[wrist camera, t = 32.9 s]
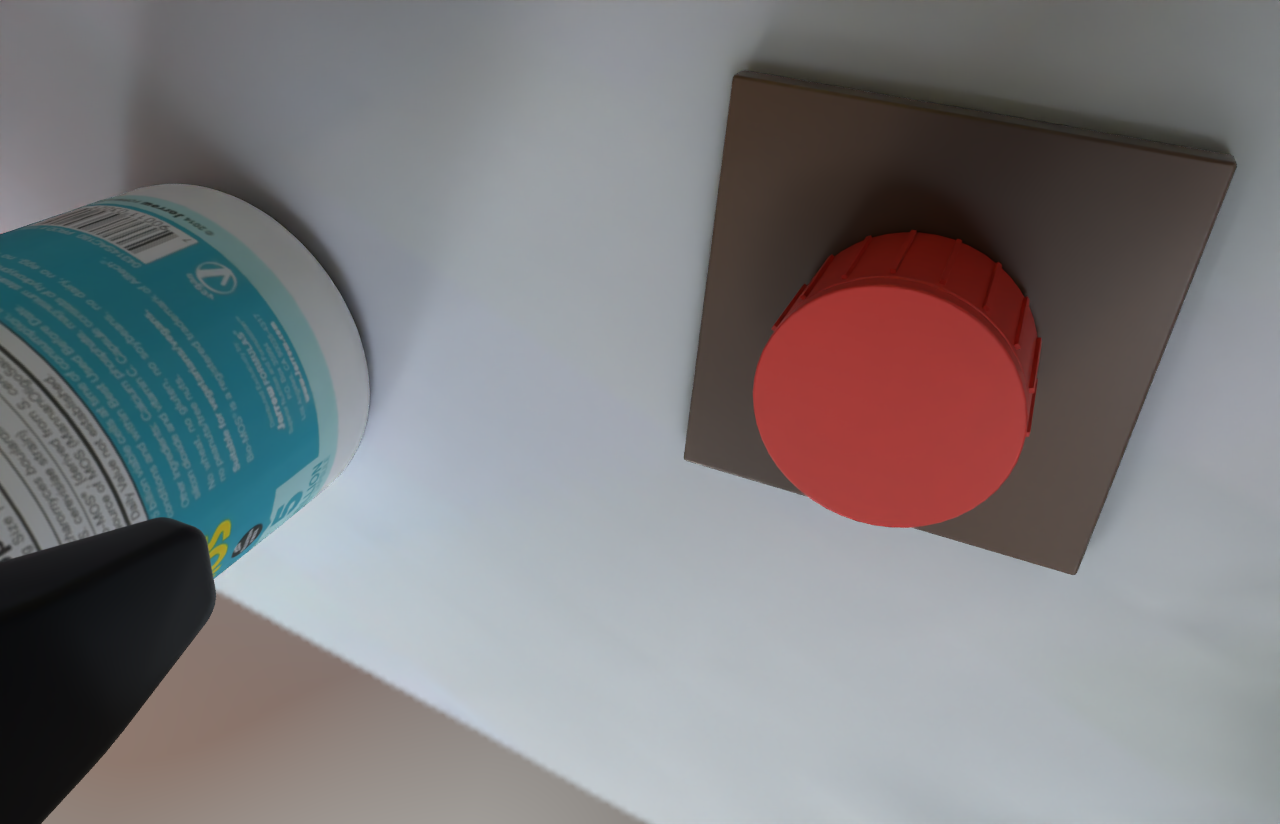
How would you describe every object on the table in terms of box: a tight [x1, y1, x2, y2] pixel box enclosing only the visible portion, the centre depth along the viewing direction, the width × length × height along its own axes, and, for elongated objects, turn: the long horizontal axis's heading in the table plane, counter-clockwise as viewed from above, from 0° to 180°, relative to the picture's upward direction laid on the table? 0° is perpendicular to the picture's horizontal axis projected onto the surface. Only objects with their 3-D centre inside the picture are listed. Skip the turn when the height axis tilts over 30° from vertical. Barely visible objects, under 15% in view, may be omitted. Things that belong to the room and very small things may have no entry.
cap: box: [753, 230, 1042, 528], centre depth 15 cm, size 4×4×2 cm
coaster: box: [684, 70, 1237, 575], centre depth 16 cm, size 7×7×1 cm
